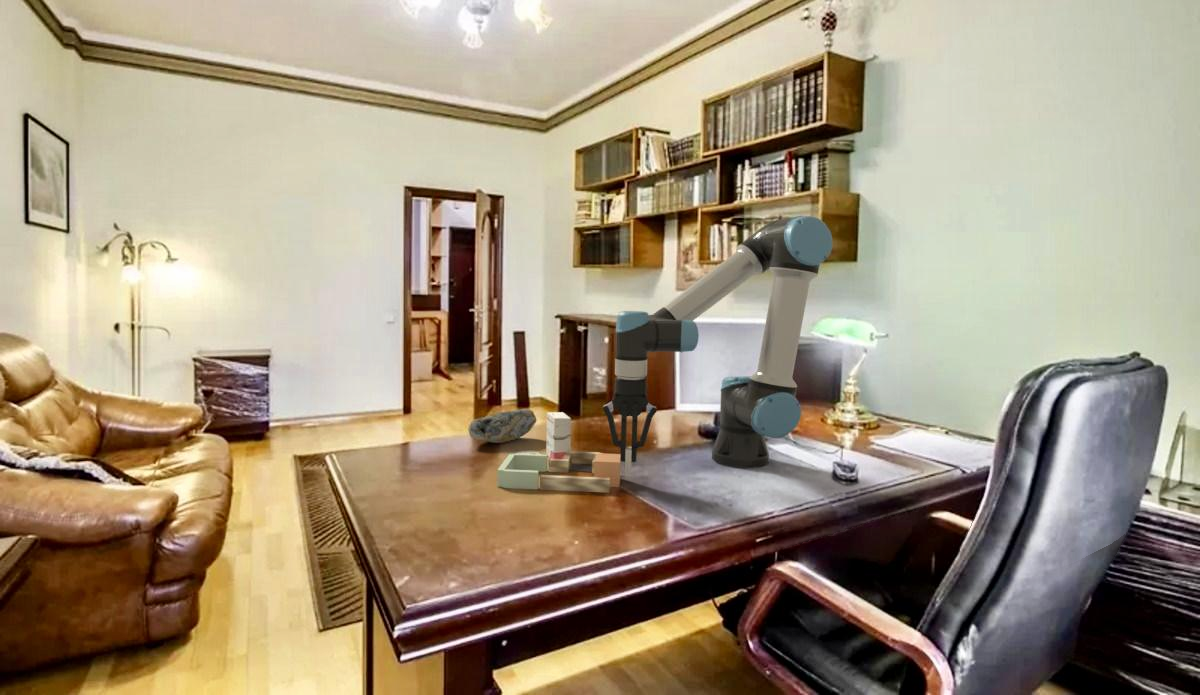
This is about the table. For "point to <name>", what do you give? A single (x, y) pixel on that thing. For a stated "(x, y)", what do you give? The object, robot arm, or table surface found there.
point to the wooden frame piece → (574, 483)
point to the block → (608, 467)
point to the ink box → (558, 435)
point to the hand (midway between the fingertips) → (627, 474)
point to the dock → (521, 471)
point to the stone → (502, 426)
